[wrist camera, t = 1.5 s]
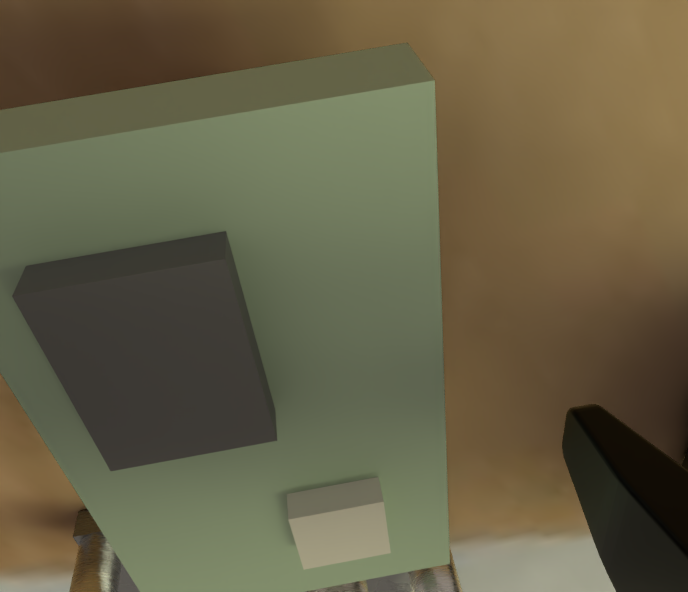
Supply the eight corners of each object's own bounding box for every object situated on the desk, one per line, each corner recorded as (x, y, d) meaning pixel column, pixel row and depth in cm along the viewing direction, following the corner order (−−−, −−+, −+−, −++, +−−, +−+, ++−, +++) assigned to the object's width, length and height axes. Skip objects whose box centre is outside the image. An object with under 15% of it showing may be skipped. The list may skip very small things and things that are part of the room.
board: (408, 42, 8) (449, 100, 6) (433, 505, 14) (457, 591, 13) (-76, 122, 8) (-154, 202, 6) (164, 555, 14) (155, 651, 12)
